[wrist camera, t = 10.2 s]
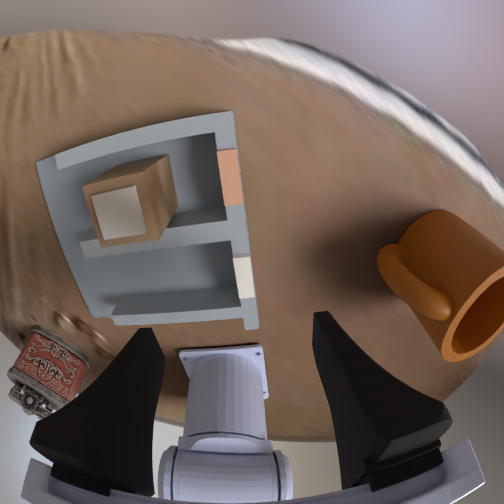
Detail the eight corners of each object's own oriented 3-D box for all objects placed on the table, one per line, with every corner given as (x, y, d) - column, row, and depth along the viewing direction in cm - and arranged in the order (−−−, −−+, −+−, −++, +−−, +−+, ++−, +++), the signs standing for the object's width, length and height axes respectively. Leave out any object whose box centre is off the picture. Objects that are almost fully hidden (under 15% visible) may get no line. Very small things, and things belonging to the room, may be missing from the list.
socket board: (256, 300, 23) (259, 332, 20) (96, 312, 23) (81, 339, 20) (233, 110, 16) (231, 111, 13) (41, 160, 16) (12, 173, 13)
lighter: (34, 335, 25) (-1, 397, 16) (35, 320, 24) (-5, 385, 15) (88, 369, 27) (63, 437, 19) (93, 355, 26) (65, 429, 17)
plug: (178, 205, 18) (158, 242, 13) (130, 213, 18) (99, 250, 13) (168, 153, 16) (141, 172, 12) (119, 164, 16) (79, 188, 12)
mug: (396, 173, 18) (480, 221, 10) (474, 230, 21) (535, 279, 13) (342, 273, 22) (388, 356, 14) (429, 304, 25) (474, 365, 17)
